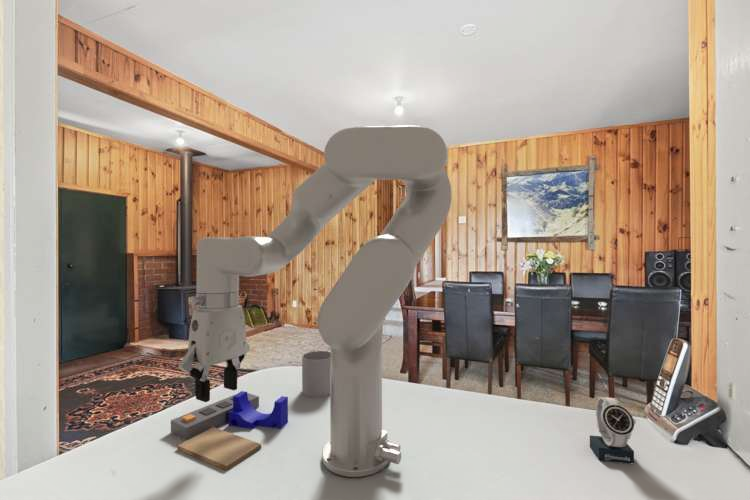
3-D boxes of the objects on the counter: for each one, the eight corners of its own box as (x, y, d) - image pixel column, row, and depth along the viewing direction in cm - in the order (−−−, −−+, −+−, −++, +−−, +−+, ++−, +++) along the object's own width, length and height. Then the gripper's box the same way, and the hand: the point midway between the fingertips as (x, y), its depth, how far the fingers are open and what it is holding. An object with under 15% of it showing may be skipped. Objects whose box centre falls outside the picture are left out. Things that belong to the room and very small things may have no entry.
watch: (603, 471, 62) (603, 408, 62) (586, 446, 70) (586, 390, 70) (640, 476, 60) (640, 411, 60) (618, 449, 68) (618, 392, 68)
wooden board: (261, 448, 69) (261, 444, 69) (226, 470, 62) (226, 466, 62) (213, 430, 76) (213, 427, 76) (177, 449, 69) (177, 445, 69)
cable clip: (228, 426, 79) (228, 399, 79) (241, 416, 83) (241, 391, 83) (277, 433, 75) (276, 405, 75) (287, 423, 80) (287, 396, 80)
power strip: (243, 403, 91) (243, 389, 91) (259, 409, 87) (259, 394, 87) (170, 434, 75) (170, 417, 75) (187, 443, 72) (187, 425, 72)
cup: (323, 384, 102) (323, 349, 102) (339, 393, 96) (339, 355, 96) (296, 391, 97) (296, 354, 97) (312, 401, 91) (311, 362, 91)
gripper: (188, 309, 60) (187, 417, 60) (265, 297, 75) (264, 383, 75) (162, 305, 63) (161, 407, 64) (240, 294, 79) (239, 377, 79)
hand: (217, 393), depth 69 cm, fingers open, 5 cm apart
